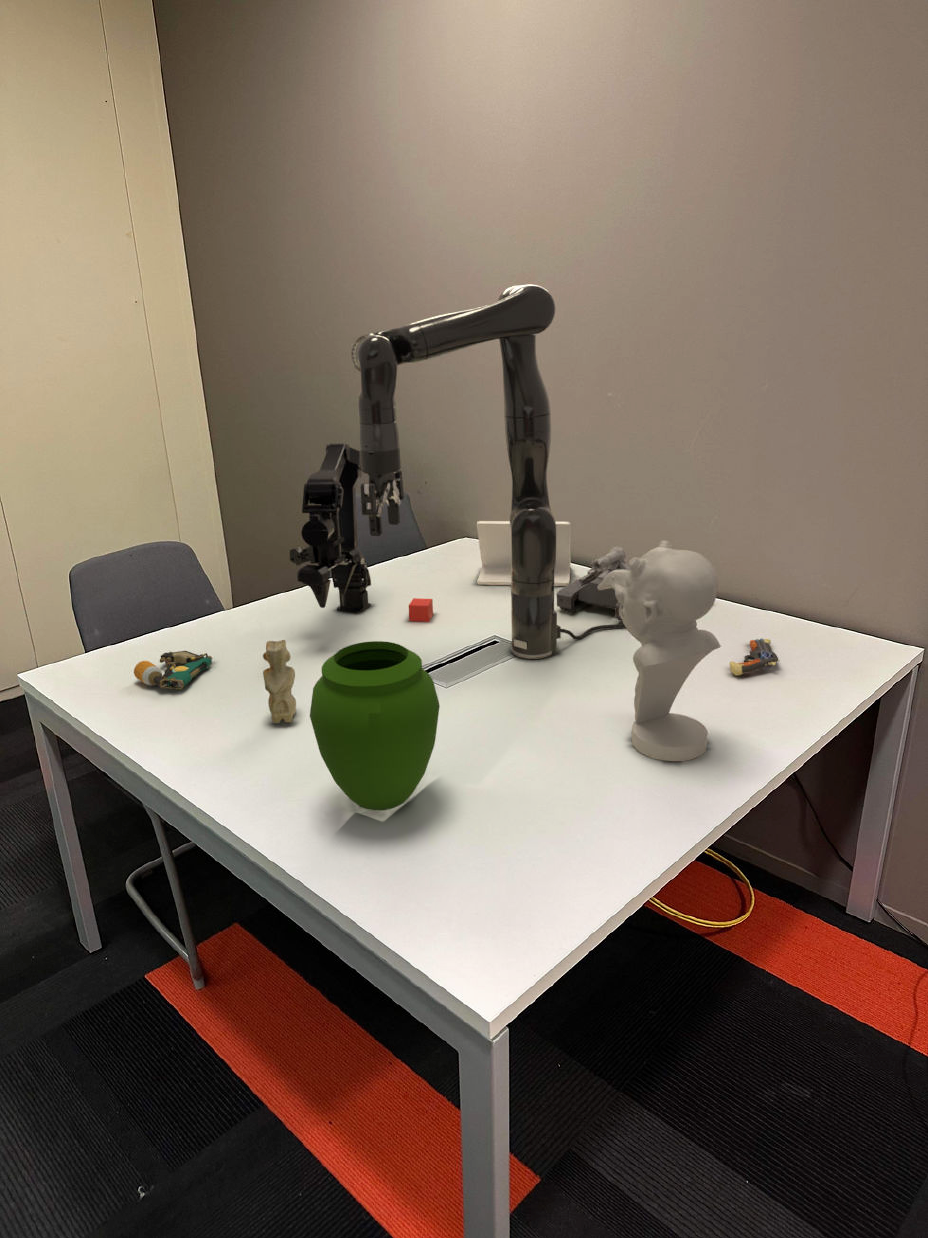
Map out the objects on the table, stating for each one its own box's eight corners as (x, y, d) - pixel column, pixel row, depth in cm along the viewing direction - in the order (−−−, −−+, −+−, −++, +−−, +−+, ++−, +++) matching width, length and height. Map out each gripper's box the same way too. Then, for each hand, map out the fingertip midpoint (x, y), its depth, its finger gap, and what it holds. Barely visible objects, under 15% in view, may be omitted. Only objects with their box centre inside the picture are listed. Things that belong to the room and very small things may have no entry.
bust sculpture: (641, 695, 165) (650, 519, 153) (732, 748, 145) (751, 550, 133) (573, 715, 158) (577, 532, 146) (659, 773, 138) (671, 567, 126)
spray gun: (177, 659, 191) (231, 671, 185) (120, 684, 176) (176, 698, 171) (176, 641, 190) (230, 653, 184) (118, 665, 175) (174, 678, 169)
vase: (466, 785, 137) (462, 645, 128) (393, 849, 122) (383, 694, 113) (371, 755, 147) (361, 623, 138) (292, 810, 132) (275, 665, 123)
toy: (603, 584, 229) (605, 530, 224) (673, 597, 218) (677, 540, 213) (555, 612, 210) (556, 553, 205) (630, 627, 199) (633, 566, 194)
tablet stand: (569, 585, 229) (570, 524, 223) (476, 584, 232) (475, 523, 226) (570, 566, 246) (571, 508, 240) (484, 564, 249) (483, 507, 243)
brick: (433, 614, 212) (432, 598, 210) (428, 622, 207) (428, 605, 206) (414, 614, 212) (413, 598, 211) (409, 621, 208) (408, 605, 206)
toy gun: (731, 666, 171) (784, 663, 169) (722, 637, 189) (769, 634, 187) (732, 679, 172) (784, 676, 170) (722, 649, 190) (770, 646, 188)
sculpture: (301, 708, 164) (294, 636, 159) (296, 726, 158) (288, 651, 152) (271, 709, 164) (262, 637, 159) (265, 727, 158) (255, 652, 152)
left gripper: (315, 522, 199) (321, 585, 205) (272, 542, 183) (279, 611, 189) (358, 524, 196) (363, 589, 201) (318, 546, 179) (324, 616, 185)
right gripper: (377, 439, 168) (383, 520, 174) (344, 452, 156) (351, 538, 162) (412, 440, 166) (417, 521, 172) (381, 453, 153) (388, 540, 159)
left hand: (332, 600), depth 194 cm, fingers open, 9 cm apart
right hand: (385, 529), depth 167 cm, fingers open, 8 cm apart
